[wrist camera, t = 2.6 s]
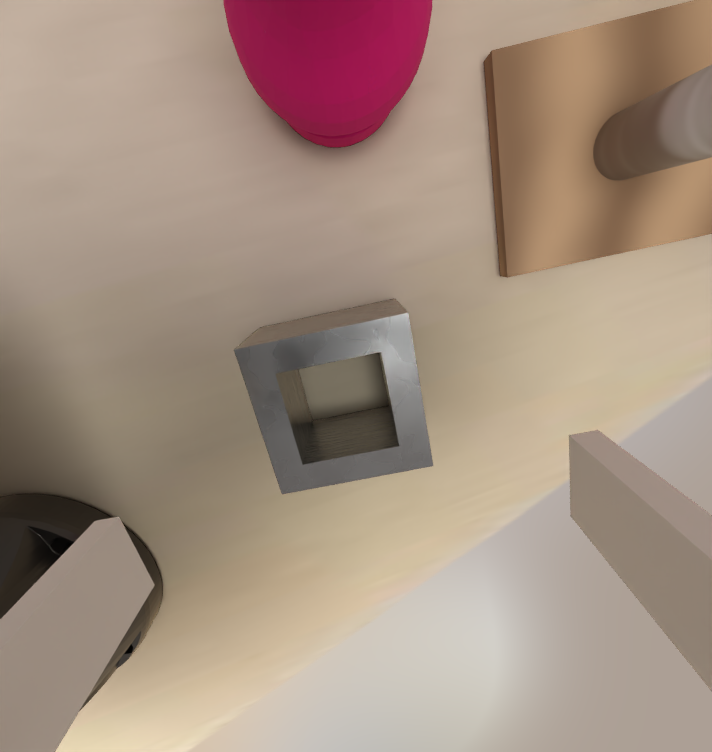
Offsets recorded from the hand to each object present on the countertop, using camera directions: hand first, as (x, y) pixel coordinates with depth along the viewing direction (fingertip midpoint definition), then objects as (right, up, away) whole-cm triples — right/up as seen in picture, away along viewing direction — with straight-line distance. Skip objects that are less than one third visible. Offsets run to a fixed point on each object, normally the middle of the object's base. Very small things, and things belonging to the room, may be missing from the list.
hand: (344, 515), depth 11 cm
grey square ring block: (0, +4, +12) cm, 12 cm away
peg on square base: (+13, +16, +8) cm, 22 cm away
